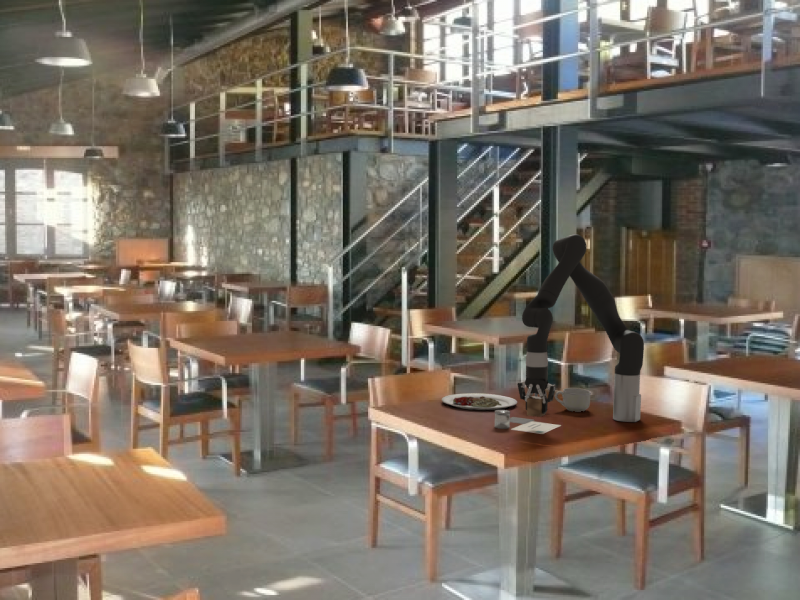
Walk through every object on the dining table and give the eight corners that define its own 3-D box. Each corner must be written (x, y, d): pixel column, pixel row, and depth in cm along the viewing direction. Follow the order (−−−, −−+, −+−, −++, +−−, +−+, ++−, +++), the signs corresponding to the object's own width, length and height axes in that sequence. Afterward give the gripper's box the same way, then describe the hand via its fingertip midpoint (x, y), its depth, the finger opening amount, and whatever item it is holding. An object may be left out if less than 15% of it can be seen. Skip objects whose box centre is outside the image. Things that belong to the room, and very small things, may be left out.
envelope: (561, 426, 325) (561, 425, 325) (542, 435, 311) (542, 433, 311) (530, 422, 331) (530, 421, 331) (510, 430, 317) (510, 429, 317)
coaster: (535, 420, 334) (535, 419, 334) (524, 425, 326) (525, 424, 326) (512, 417, 338) (512, 416, 338) (502, 422, 331) (502, 420, 331)
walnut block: (545, 414, 319) (545, 397, 319) (540, 416, 315) (540, 399, 315) (532, 412, 322) (532, 396, 322) (526, 415, 318) (527, 398, 317)
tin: (512, 428, 321) (512, 411, 321) (505, 430, 317) (506, 413, 316) (498, 426, 324) (498, 409, 324) (491, 428, 320) (492, 411, 319)
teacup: (588, 408, 360) (589, 388, 359) (591, 413, 349) (592, 393, 348) (553, 407, 361) (553, 387, 360) (555, 412, 350) (555, 391, 350)
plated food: (532, 408, 359) (532, 400, 358) (469, 414, 344) (469, 406, 344) (488, 395, 385) (488, 387, 384) (427, 401, 370) (427, 393, 370)
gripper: (560, 364, 317) (559, 413, 318) (522, 361, 324) (521, 408, 325) (552, 367, 310) (551, 416, 312) (513, 364, 318) (513, 412, 319)
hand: (536, 412), depth 319 cm, fingers closed on walnut block, 5 cm apart
